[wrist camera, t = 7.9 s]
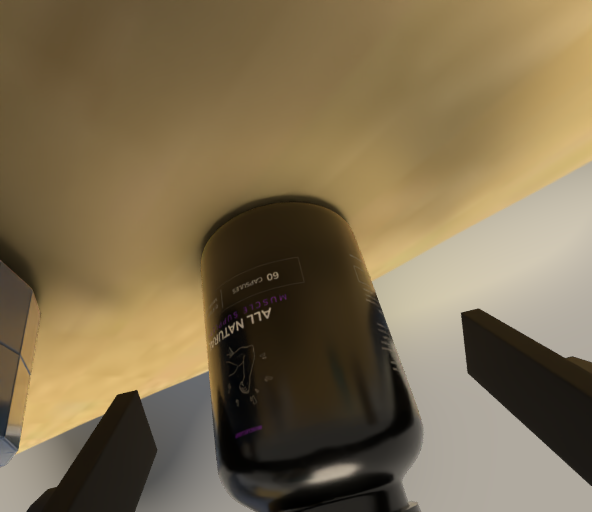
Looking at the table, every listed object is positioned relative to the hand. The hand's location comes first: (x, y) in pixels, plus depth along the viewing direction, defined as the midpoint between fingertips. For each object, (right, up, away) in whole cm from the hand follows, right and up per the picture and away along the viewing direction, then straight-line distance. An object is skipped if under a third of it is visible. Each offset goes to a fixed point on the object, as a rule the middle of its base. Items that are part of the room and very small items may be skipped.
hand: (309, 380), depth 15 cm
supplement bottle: (-1, +5, +2) cm, 6 cm away
